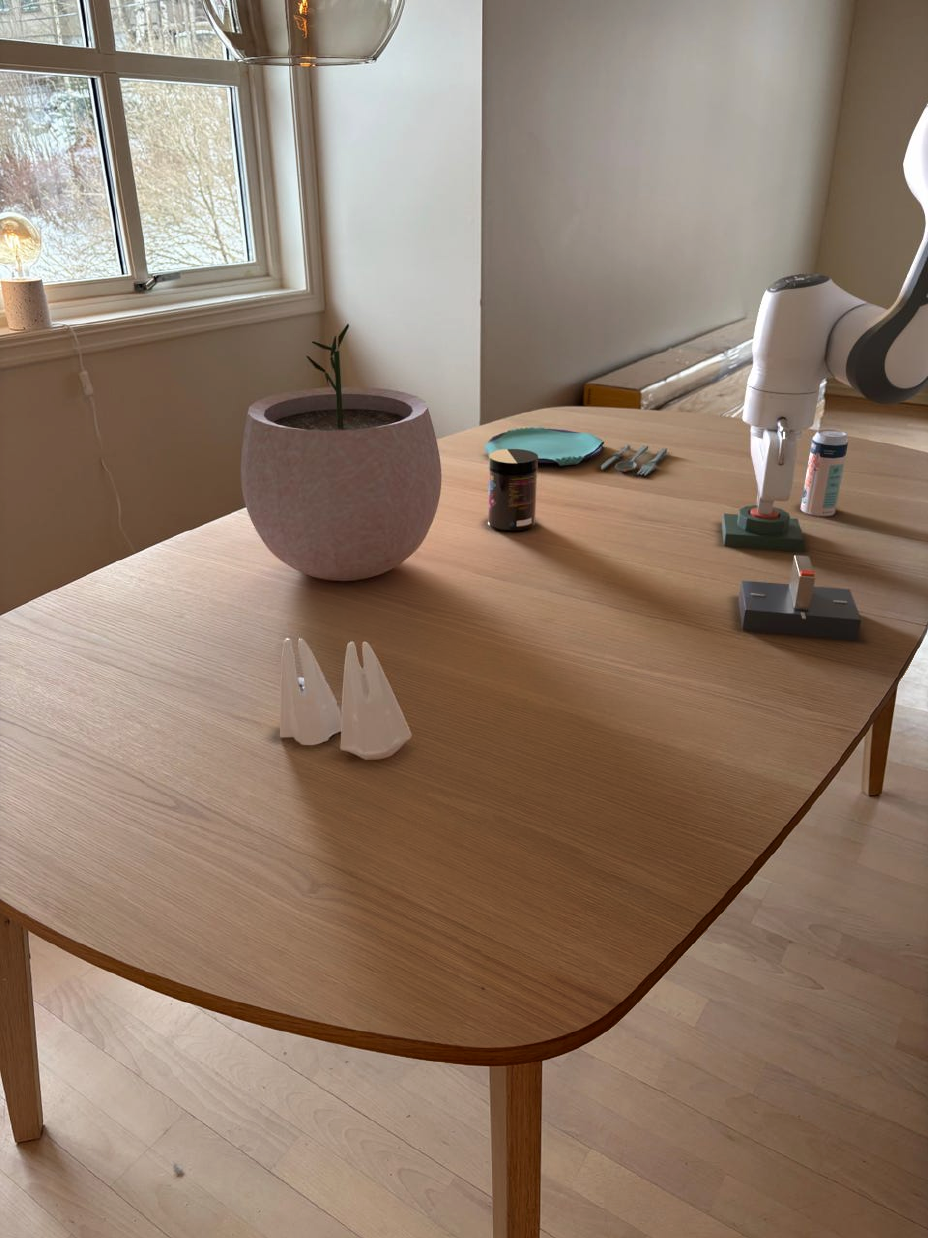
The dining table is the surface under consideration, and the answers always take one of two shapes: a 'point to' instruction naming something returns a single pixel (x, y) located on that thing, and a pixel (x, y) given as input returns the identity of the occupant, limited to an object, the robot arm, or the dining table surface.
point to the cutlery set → (564, 447)
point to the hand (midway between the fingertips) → (763, 510)
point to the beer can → (824, 472)
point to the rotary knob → (801, 582)
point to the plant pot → (341, 476)
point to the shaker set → (366, 704)
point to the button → (755, 514)
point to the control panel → (798, 611)
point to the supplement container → (512, 490)
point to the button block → (762, 531)
